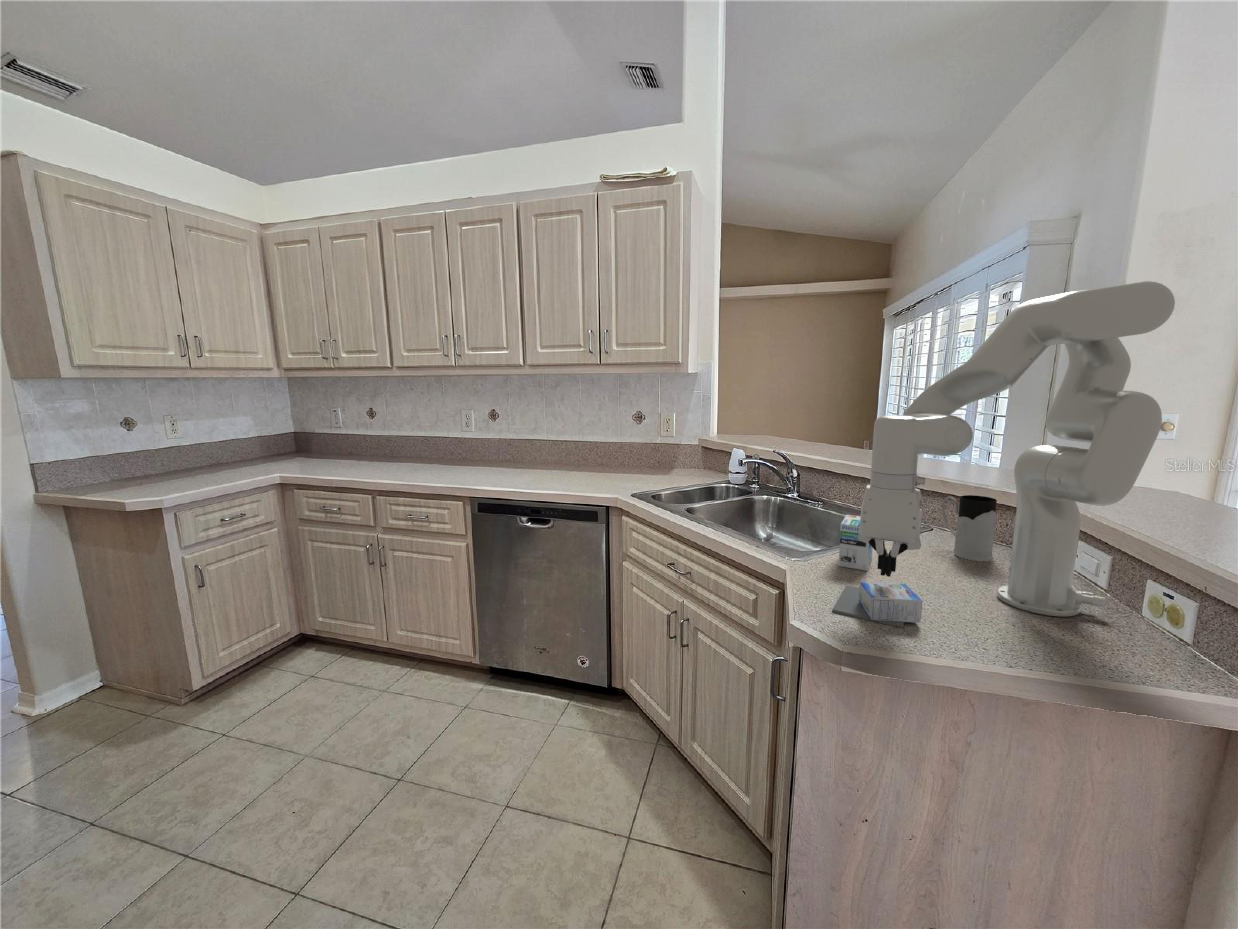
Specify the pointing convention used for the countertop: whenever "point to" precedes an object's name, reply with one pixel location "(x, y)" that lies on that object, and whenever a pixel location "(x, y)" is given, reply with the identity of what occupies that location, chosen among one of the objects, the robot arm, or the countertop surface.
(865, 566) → the light bulb box
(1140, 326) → the robot arm
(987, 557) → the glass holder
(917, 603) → the medicine box
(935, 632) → the countertop surface
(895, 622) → the mat
